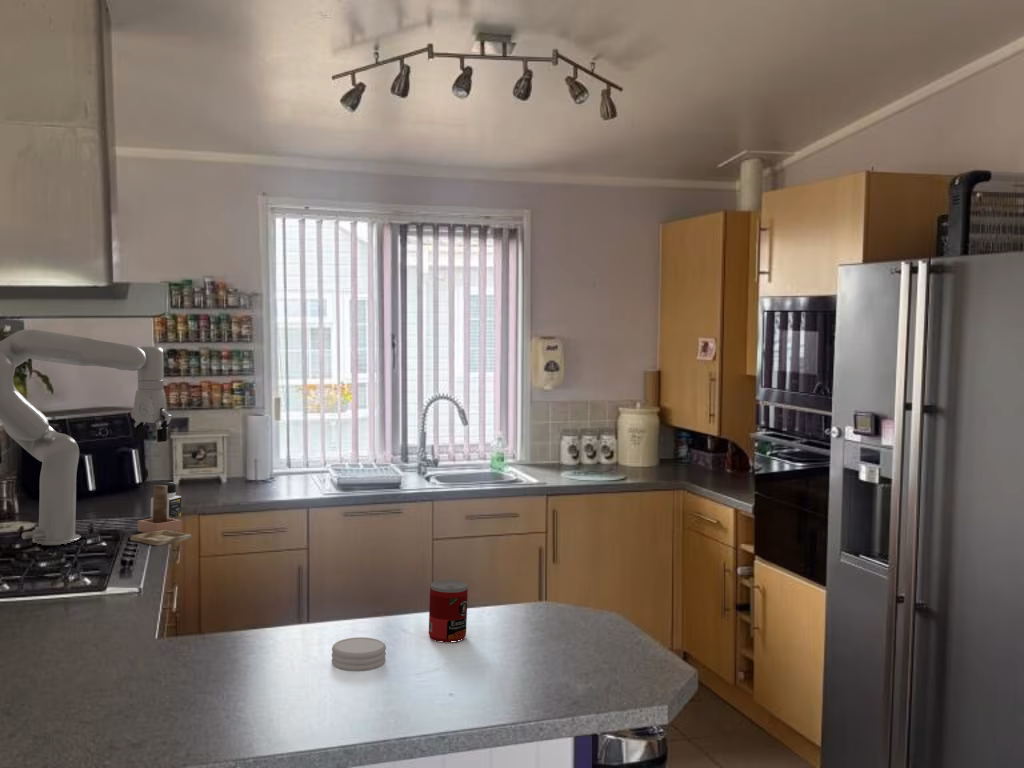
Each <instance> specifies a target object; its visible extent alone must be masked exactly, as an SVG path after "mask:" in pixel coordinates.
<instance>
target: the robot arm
mask: <svg viewBox="0 0 1024 768" xmlns="http://www.w3.org/2000/svg"><path fill="white" fill-rule="evenodd" d="M28 360H36V361H42V362H43V361H44V362H49V363H51V362H52V363H57V364H64V365H65V364H66V365H73V366H79V367H99V368H101V367H102V368H109V369H116V370H118V371H119V370H120V371H130V372H131V371H132V372H135V371H137V389H136V390H135V391H136V392H135V395H134V402H133V403H134V404H133V410H132V411H131V412H130V417H131V420H132V423H133V426H134V428H135V440H136V441H142V440H146V426H145V425H146V423H148V424H153V423H155V424H156V426H157V428H158V429H156V441H157V443H163V442H164V443H165V442H167V440H168V439H167V438H168V432H167V431H168V429H169V425H170V424H171V420H172V414H171V413H169V412H168V411H167V400H166V393H165V390H164V387H165V386H164V385H165V383H164V380H165V379H164V349H163V348H162V347H160V346H141V347H138V346H137V345H136V346H135V345H130V344H122V343H119V342H118V343H116V342H111V341H104V340H98V339H93V338H89V337H83V336H78V335H72V334H71V335H70V334H64V333H58V332H51V331H45V330H40V329H21V330H18V331H16V332H14V333H13V334H10V335H9V336H7V337H6V338H4V339H3V340H0V421H1V422H2V426H3V428H4V431H5V432H6V434H7V435H8V436H10V438H11V439H12V440H14V441H15V442H16V443H17V444H18V445H19V446H20V447H22V448H23V449H24V450H25V451H26V452H27V453H28V454H30V455H31V456H32V457H33V458H35V459H36V460H38V461H39V462H42V463H41V469H40V474H39V488H38V489H39V498H38V500H39V505H38V507H39V508H38V512H39V513H38V526H35V528H34V529H32V531H24V532H22V533H21V538H22V540H28V539H32V543H33V544H34V543H37V544H36V545H38V544H41V545H40V546H62V545H61V544H64V545H68V544H67V543H71V542H74V541H77V540H79V539H80V538H81V539H82V536H81V535H80V534H79V533H78V534H77V533H76V516H77V515H76V514H77V513H76V511H77V509H76V508H77V472H78V465H79V461H80V448H79V445H78V443H77V441H76V440H75V439H74V438H73V437H72V436H70V435H68V434H66V433H61V432H58V431H56V430H55V429H54V428H53V427H52V426H50V424H49V420H48V418H47V416H46V415H45V414H44V413H43V412H42V411H40V409H38V408H37V407H36V406H35V405H33V404H32V403H31V402H30V401H29V400H28V399H27V398H26V397H24V395H22V394H21V393H20V392H19V390H18V389H17V388H16V386H15V383H14V376H15V372H16V368H17V367H19V366H20V365H22V364H23V363H25V362H26V361H28ZM71 544H72V543H71Z"/></svg>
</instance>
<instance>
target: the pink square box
mask: <svg viewBox="0 0 1024 768" xmlns="http://www.w3.org/2000/svg"><path fill="white" fill-rule="evenodd" d="M161 530H168V531H174V532H180V531H182V519H176V518H173V517H171V518H167V522H163V523H153V518H146V519H141V520H140V519H139V520H137V532H140V533H143V534H144V533H150V532H155V531H161Z"/></svg>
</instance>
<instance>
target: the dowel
mask: <svg viewBox="0 0 1024 768" xmlns="http://www.w3.org/2000/svg"><path fill="white" fill-rule="evenodd" d="M167 489H168V486H167V485H157V484H155V485H153V497H152V498H153V523H163V522H167Z"/></svg>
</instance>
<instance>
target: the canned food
mask: <svg viewBox="0 0 1024 768" xmlns="http://www.w3.org/2000/svg"><path fill="white" fill-rule="evenodd" d="M468 590H469V587H468V584H467V583H466V582H463V581H462V580H461V581H459V580H453V579H440V580H435V581H433V582H431V583H430V586H429V604H428V605H429V607H428V608H429V609H428V636H429V638H430V639H431V640H432V639H433V640H432V641H434V640H436V641H435V642H437V641H443V642H451V641H458V640H461V639H463V638H464V637H465V638H466V637H467V622H468V618H467V616H468V599H469V598H468V597H469V596H468V594H469V593H468V592H469V591H468ZM465 638H464V639H465ZM464 639H463V640H464Z"/></svg>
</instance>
